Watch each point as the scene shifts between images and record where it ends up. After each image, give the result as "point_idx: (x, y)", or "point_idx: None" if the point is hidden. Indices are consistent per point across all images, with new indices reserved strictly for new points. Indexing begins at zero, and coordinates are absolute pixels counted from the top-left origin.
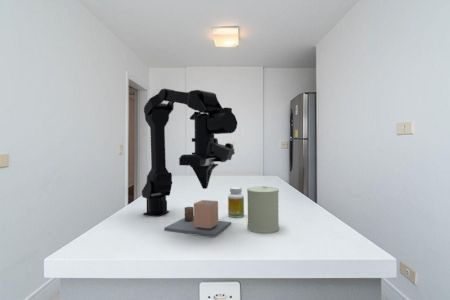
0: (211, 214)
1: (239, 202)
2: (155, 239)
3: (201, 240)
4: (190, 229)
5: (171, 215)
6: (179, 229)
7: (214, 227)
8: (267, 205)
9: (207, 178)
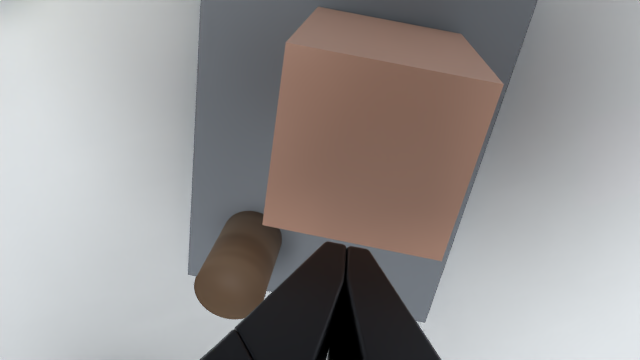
0: (458, 53)
1: None
2: (575, 305)
3: (602, 54)
4: None
5: (141, 356)
6: (450, 238)
7: None
8: None
9: (377, 345)
